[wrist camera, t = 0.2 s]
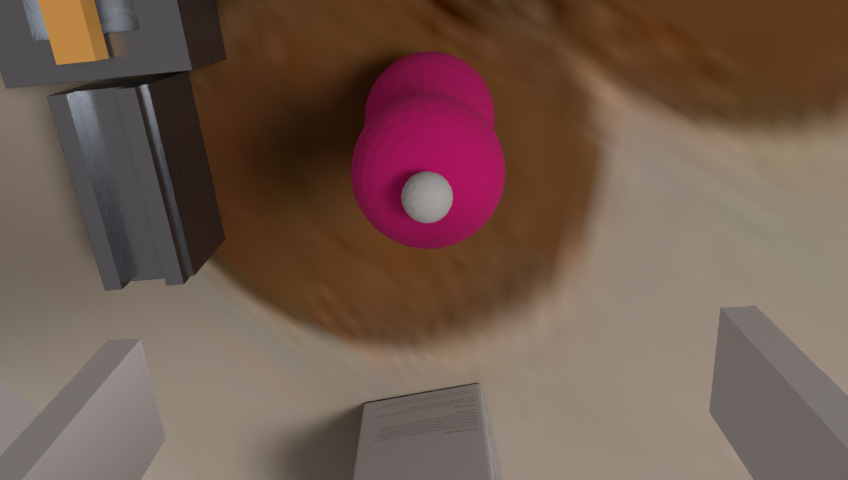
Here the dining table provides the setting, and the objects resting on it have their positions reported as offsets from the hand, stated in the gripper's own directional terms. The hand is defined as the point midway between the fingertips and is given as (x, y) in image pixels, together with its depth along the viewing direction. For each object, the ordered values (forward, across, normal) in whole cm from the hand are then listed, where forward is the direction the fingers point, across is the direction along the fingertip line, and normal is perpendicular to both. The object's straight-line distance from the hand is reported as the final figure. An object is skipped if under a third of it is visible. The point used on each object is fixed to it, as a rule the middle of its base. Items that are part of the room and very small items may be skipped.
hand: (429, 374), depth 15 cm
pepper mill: (+28, 0, +2) cm, 28 cm away
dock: (+28, -17, +4) cm, 33 cm away
